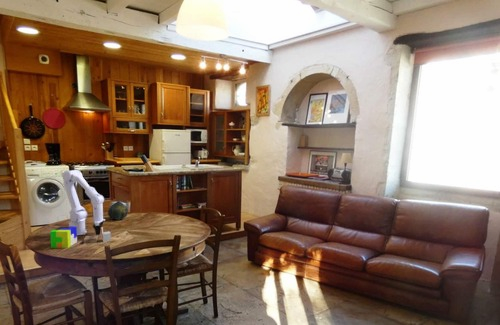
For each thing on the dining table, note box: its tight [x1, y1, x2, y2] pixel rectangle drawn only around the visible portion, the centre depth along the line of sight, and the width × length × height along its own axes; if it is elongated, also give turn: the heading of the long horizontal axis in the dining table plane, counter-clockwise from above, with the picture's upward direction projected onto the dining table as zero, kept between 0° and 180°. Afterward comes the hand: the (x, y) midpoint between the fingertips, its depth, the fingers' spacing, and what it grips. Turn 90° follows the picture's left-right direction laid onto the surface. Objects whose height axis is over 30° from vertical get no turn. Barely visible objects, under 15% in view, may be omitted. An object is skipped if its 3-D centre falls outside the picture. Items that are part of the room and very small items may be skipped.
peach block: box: [94, 226, 104, 237], centre depth 202 cm, size 4×4×5 cm
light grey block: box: [101, 230, 112, 243], centre depth 192 cm, size 4×4×5 cm
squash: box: [107, 200, 129, 221], centre depth 242 cm, size 14×15×15 cm
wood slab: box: [83, 234, 99, 244], centre depth 190 cm, size 7×7×3 cm
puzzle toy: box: [50, 226, 78, 249], centre depth 183 cm, size 10×10×10 cm
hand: (98, 233), depth 202 cm, fingers open, 7 cm apart
